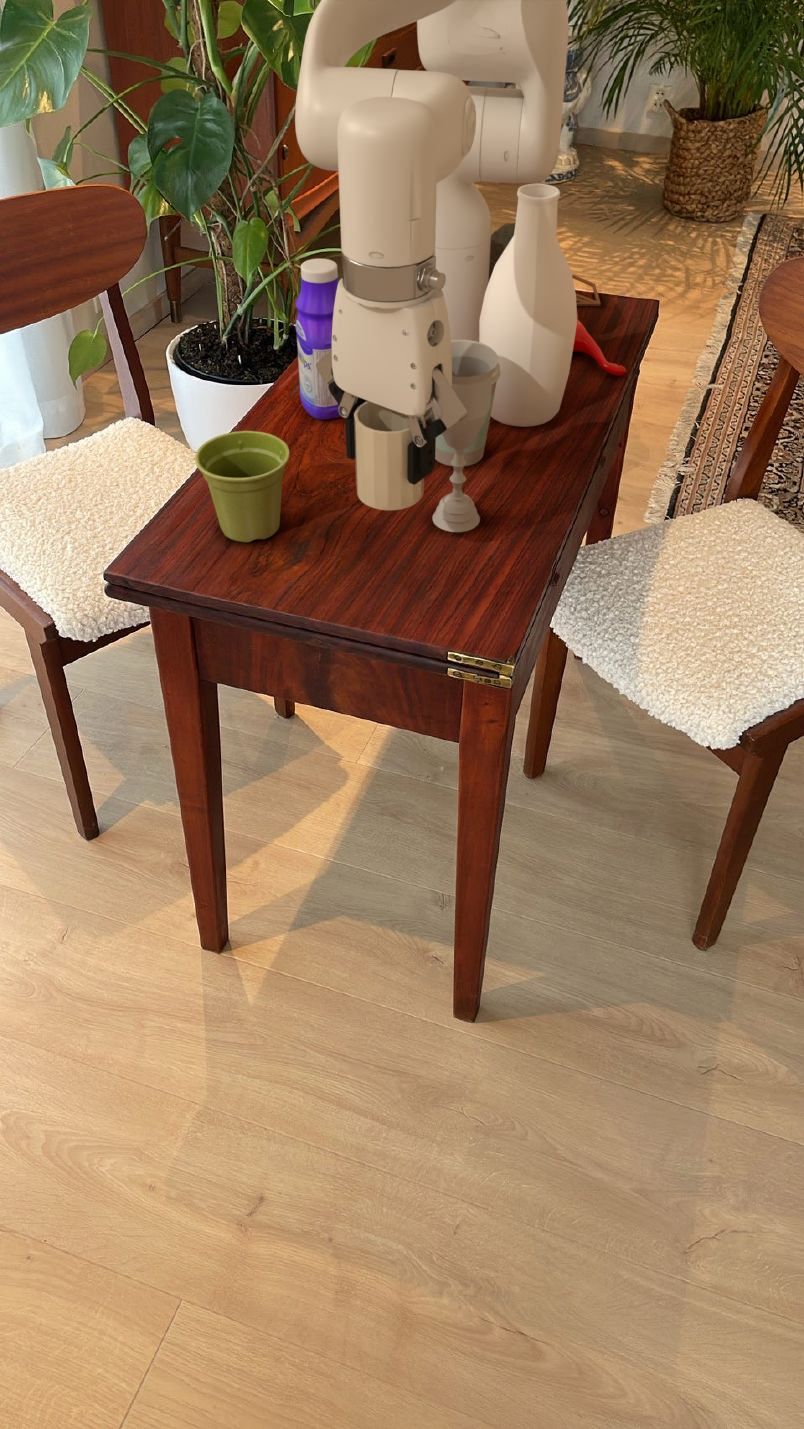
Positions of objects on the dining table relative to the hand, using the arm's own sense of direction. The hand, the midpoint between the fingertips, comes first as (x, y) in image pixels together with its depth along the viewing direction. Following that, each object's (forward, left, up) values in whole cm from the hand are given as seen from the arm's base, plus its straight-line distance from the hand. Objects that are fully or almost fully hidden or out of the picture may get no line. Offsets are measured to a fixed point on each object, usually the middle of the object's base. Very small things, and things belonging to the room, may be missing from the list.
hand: (389, 463), depth 106 cm
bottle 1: (-23, -27, -13) cm, 38 cm away
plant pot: (+2, -17, -13) cm, 22 cm away
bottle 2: (-37, -8, -13) cm, 40 cm away
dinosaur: (-57, -15, -11) cm, 60 cm away
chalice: (-13, -1, -13) cm, 18 cm away
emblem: (-69, -20, -13) cm, 73 cm away
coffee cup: (-24, -8, -13) cm, 28 cm away
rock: (-52, -21, -8) cm, 57 cm away
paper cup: (0, 0, -3) cm, 3 cm away
